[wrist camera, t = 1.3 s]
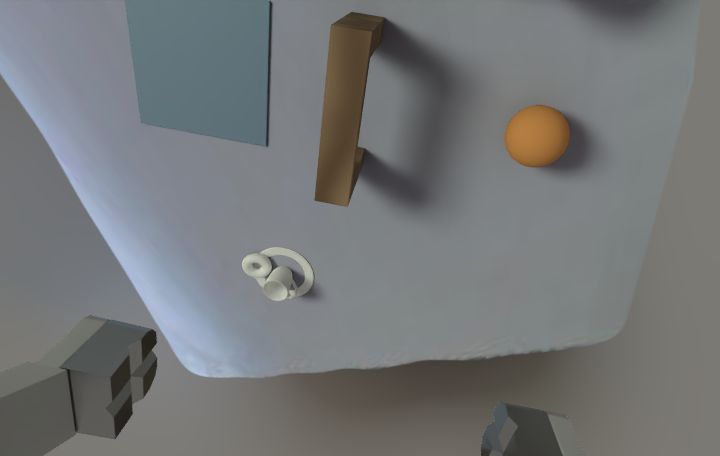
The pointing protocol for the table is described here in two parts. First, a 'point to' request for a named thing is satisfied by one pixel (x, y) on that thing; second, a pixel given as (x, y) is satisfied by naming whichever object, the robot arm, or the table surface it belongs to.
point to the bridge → (345, 105)
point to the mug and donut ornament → (277, 274)
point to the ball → (537, 136)
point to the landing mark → (202, 65)
